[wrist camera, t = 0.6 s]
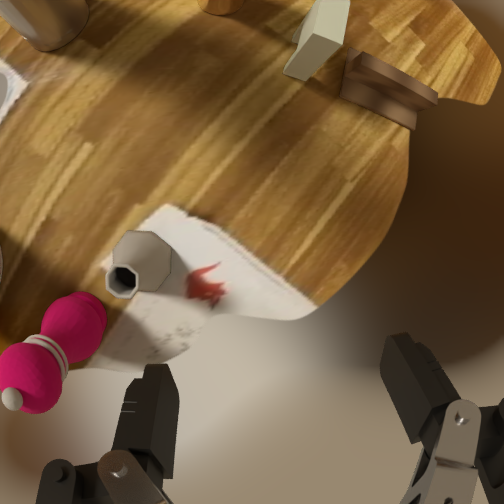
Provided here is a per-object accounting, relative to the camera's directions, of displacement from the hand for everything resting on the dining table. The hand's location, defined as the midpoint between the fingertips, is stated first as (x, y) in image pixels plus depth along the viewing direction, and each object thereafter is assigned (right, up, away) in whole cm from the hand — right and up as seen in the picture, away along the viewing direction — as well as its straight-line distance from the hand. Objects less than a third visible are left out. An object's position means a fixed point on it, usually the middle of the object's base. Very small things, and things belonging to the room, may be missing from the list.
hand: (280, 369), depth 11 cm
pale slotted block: (+5, +29, +23) cm, 37 cm away
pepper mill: (-22, -4, +24) cm, 32 cm away
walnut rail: (+17, +26, +26) cm, 40 cm away
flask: (-14, +3, +24) cm, 28 cm away
